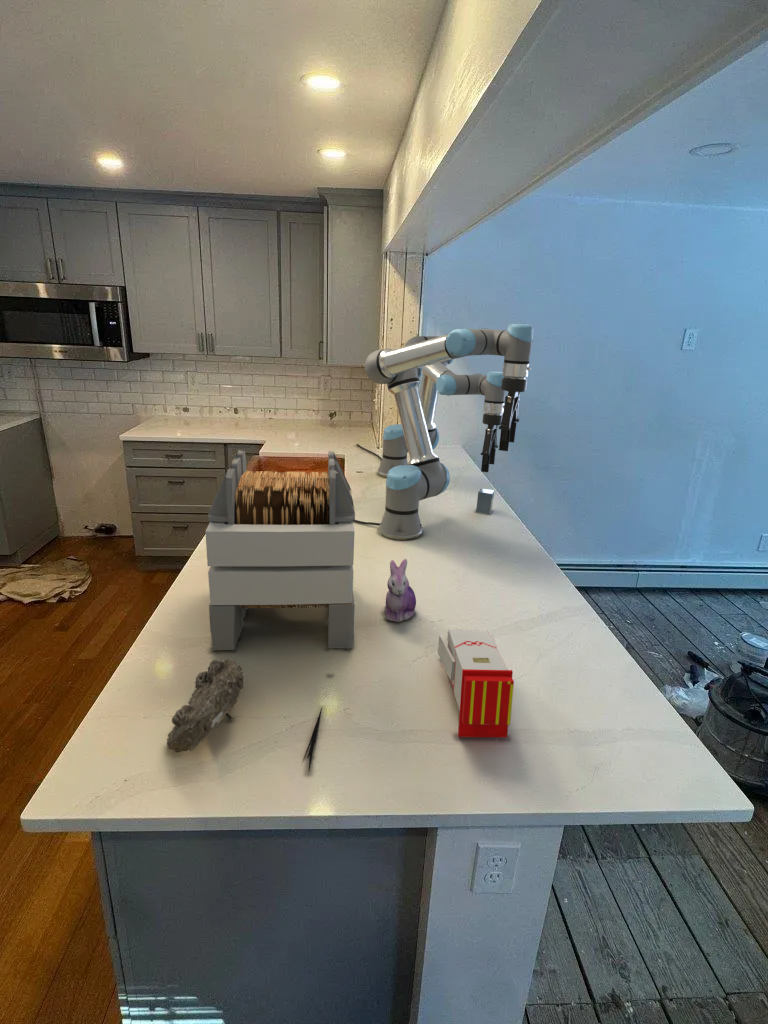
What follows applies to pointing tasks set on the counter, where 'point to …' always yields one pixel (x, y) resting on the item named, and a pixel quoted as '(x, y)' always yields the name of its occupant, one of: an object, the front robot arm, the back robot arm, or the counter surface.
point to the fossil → (206, 705)
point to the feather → (313, 740)
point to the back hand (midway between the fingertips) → (487, 467)
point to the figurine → (399, 594)
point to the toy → (478, 682)
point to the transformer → (281, 548)
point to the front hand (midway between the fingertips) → (506, 446)
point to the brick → (485, 501)
